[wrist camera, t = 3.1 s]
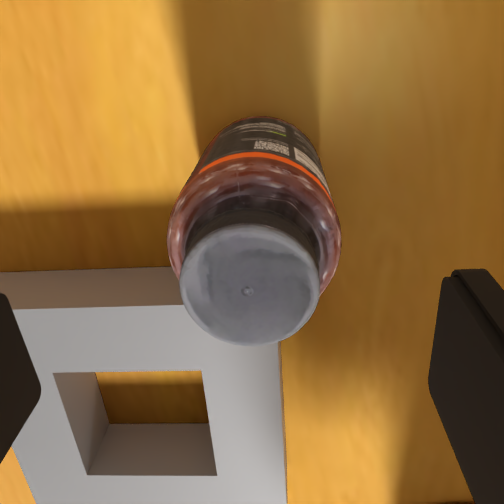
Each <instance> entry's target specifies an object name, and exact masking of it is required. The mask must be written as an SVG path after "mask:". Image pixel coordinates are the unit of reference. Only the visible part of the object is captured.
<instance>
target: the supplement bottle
mask: <svg viewBox="0 0 504 504" xmlns="http://www.w3.org/2000/svg"><path fill="white" fill-rule="evenodd" d="M167 248H168V254H169V260H170V262H171V265H172V268H173V271H174V273H175V275H176V276H177V278H178V280H179V288H180V294H181V298H182V301H183V304H184V306H185V309H186V310H187V312H188V314H189V315H190V316H191V318H192V319H193V320H194V322H195V323H196V324H198V326H199V327H201V328H202V329H203V330H204V331H205V332H207V333H209V334H210V335H211V336H213V337H214V338H217V339H219V340H221V341H224V342H227V343H230V344H233V345H241V346H264V345H269V344H273V343H277V342H279V341H282V340H284V339H286V338H288V337H290V336H292V335H293V334H295V333H296V332H297V331H298V330H299V329H301V328H302V327H303V326H304V325H305V323H306V322H308V320H309V319H310V317H311V316H312V314H313V313H314V311H315V309H316V306H317V304H318V301H319V296H320V295H321V294H322V293H323V292H324V290H325V288H326V287H327V286H328V284H329V283H330V281H331V279H332V277H333V276H334V274H335V271H336V269H337V266H338V262H339V258H340V253H341V229H340V223H339V219H338V216H337V213H336V209H335V206H334V203H333V200H332V197H331V194H330V191H329V188H328V185H327V182H326V179H325V175H324V172H323V169H322V166H321V163H320V159H319V157H318V155H317V153H316V151H315V149H314V147H313V145H312V143H311V142H310V141H309V139H308V138H307V137H306V136H305V135H304V134H303V133H302V132H301V131H300V130H299V129H297V128H296V127H295V126H294V125H292V124H289V123H287V122H285V121H283V120H280V119H277V118H272V117H266V116H257V117H249V118H244V119H240V120H238V121H236V122H234V123H232V124H230V125H229V126H227V127H225V128H224V129H223V130H222V131H220V132H219V133H218V134H217V135H216V137H215V138H214V139H213V140H212V141H211V143H210V144H209V145H208V147H207V148H206V150H205V151H204V153H203V155H202V157H201V159H200V160H199V162H198V164H197V165H196V167H195V169H194V171H193V172H192V174H191V176H190V177H189V179H188V180H187V182H186V184H185V186H184V187H183V189H182V190H181V193H180V195H179V197H178V199H177V200H176V202H175V204H174V207H173V209H172V212H171V215H170V219H169V223H168V230H167Z"/></svg>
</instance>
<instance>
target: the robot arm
mask: <svg viewBox="0 0 504 504" xmlns="http://www.w3.org/2000/svg"><path fill="white" fill-rule="evenodd" d="M428 384H429V390H430V394H431V397H432V399H433V401H434V404H435V406H436V409H437V411H438V414H439V416H440V419H441V421H442V423H443V426H444V428H445V431H446V433H447V436H448V438H449V441H450V443H451V446H452V448H453V450H454V453H455V455H456V458H457V460H458V463H459V465H460V468H461V470H462V473H463V475H464V477H465V480H466V482H467V485H468V487H469V490H470V492H471V495H472V497H473V499H474V502H475V504H504V290H503V289H502V288H501V287H500V285H499V284H498V283H497V282H496V281H495V279H494V278H493V277H492V276H491V275H490V273H489V272H488V271H487V270H486V269H461V270H454V271H453V272H452V274H451V277H445V278H443V281H442V285H441V292H440V299H439V306H438V313H437V320H436V327H435V334H434V341H433V348H432V355H431V362H430V369H429V376H428ZM40 396H41V384H40V381H39V379H38V376H37V373H36V371H35V368H34V366H33V363H32V360H31V358H30V355H29V352H28V350H27V347H26V345H25V342H24V339H23V337H22V334H21V331H20V329H19V326H18V324H17V321H16V318H15V316H14V313H13V310H12V308H11V305H10V303H9V300H8V298H7V296H6V295H5V294H3V293H0V463H1V462H2V460H3V459H4V457H5V455H6V454H7V452H8V450H9V449H10V447H11V446H12V444H13V442H14V441H15V439H16V437H17V436H18V434H19V433H20V431H21V429H22V428H23V426H24V424H25V423H26V421H27V420H28V418H29V416H30V415H31V413H32V411H33V410H34V408H35V407H36V405H37V403H38V401H39V399H40Z"/></svg>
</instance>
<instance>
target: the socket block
mask: <svg viewBox="0 0 504 504" xmlns="http://www.w3.org/2000/svg"><path fill="white" fill-rule="evenodd" d="M0 293H3V294H5V295H6V296H7V298H8V300H9V303H10V305H11V308H12V310H13V313H14V316H15V318H16V321H17V324H18V326H19V329H20V331H21V334H22V337H23V339H24V342H25V345H26V347H27V350H28V352H29V355H30V358H31V360H32V363H33V366H34V368H35V371H36V373H37V376H38V379H39V381H40V384H41V396H40V399H39V401H38V403H37V405H36V407H35V408H34V410H33V411H32V413H31V415H30V416H29V418H28V420H27V421H26V423H25V424H24V426H23V428H22V429H21V431H20V433H19V434H18V436H17V437H16V439H15V441H14V442H13V444H12V448H13V450H14V453H15V455H16V457H17V460H18V462H19V464H20V467H21V469H22V471H23V474H24V476H25V478H26V481H27V483H28V485H29V488H30V490H31V492H32V495H33V497H34V499H35V502H36V504H287V458H286V438H285V419H284V400H283V381H282V362H281V343H280V341H279V342H277V343H273V344H269V345H264V346H241V345H233V344H230V343H227V342H224V341H221V340H219V339H217V338H214V337H213V336H211V335H210V334H209V333H207V332H205V331H204V330H203V329H202V328H201V327H199V326H198V324H196V323H195V322H194V320H193V319H192V318H191V316H190V315H189V314H188V312H187V310H186V309H185V306H184V304H183V301H182V298H181V294H180V288H179V280H178V278H177V276H176V275H175V273H174V271H173V268H172V266H170V267H142V268H113V269H84V270H55V271H26V272H0ZM197 370H201V372H202V378H203V385H204V391H205V398H206V405H207V411H208V418H209V423H172V424H109V420H108V417H107V413H106V410H105V406H104V403H103V399H102V396H101V392H100V389H99V385H98V382H97V378H96V375H95V372H130V371H197Z"/></svg>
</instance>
